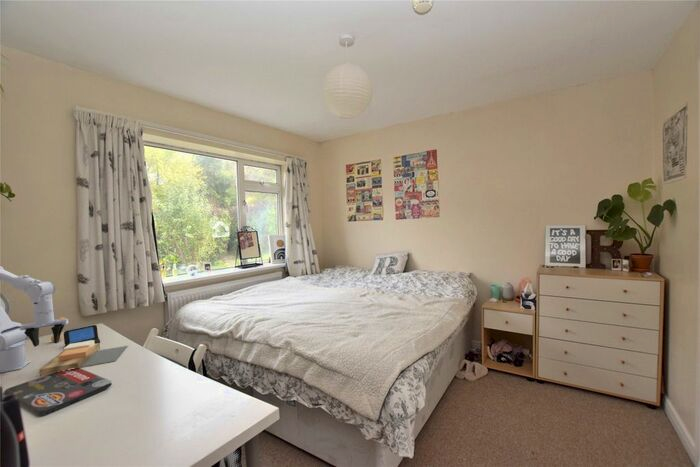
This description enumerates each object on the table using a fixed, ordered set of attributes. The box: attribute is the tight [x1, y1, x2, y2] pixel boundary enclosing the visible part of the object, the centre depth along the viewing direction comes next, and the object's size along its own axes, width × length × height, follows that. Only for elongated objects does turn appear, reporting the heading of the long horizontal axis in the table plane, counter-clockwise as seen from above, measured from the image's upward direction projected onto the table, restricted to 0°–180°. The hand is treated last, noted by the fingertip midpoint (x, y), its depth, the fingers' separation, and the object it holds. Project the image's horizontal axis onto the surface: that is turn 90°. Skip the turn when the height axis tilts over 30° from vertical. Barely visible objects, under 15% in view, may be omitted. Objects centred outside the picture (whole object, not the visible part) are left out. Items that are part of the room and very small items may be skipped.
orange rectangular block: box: [58, 347, 92, 361], centre depth 129 cm, size 9×6×2 cm, turn 112°
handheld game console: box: [63, 324, 101, 348], centre depth 149 cm, size 12×11×7 cm
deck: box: [38, 342, 101, 377], centre depth 131 cm, size 12×22×2 cm, turn 22°
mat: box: [79, 345, 129, 369], centre depth 134 cm, size 12×17×1 cm
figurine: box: [50, 316, 67, 342], centre depth 155 cm, size 8×6×12 cm
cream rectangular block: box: [62, 340, 95, 352], centre depth 137 cm, size 9×6×2 cm, turn 112°
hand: (46, 344), depth 126 cm, fingers open, 6 cm apart
